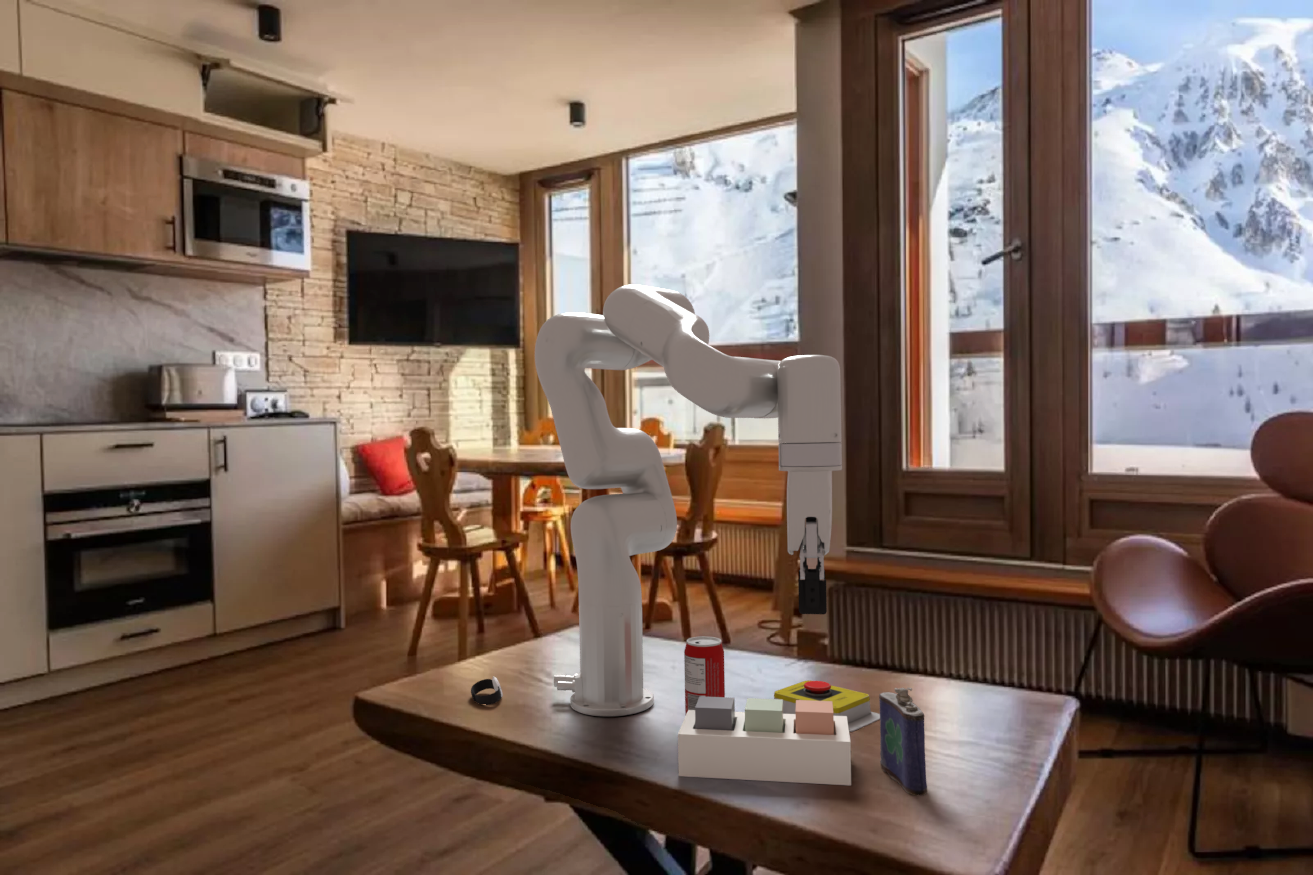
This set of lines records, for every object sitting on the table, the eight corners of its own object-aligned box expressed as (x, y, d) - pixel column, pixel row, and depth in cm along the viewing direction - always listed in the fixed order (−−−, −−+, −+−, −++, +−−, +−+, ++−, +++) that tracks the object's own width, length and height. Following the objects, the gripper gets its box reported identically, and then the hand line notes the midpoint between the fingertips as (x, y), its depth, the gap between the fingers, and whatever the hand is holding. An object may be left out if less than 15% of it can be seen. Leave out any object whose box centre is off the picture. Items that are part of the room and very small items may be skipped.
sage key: (745, 742, 101) (744, 709, 101) (747, 730, 106) (747, 698, 106) (782, 744, 101) (781, 710, 101) (783, 731, 105) (782, 699, 105)
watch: (508, 705, 129) (508, 681, 129) (477, 710, 127) (477, 686, 127) (495, 692, 136) (494, 669, 136) (466, 696, 134) (465, 673, 134)
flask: (876, 765, 103) (875, 677, 103) (899, 763, 103) (898, 675, 103) (909, 797, 94) (908, 700, 94) (934, 795, 94) (933, 699, 94)
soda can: (727, 718, 121) (726, 634, 121) (722, 732, 115) (721, 644, 115) (689, 716, 122) (687, 633, 122) (682, 729, 117) (680, 642, 117)
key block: (678, 776, 101) (677, 734, 101) (688, 748, 109) (688, 709, 109) (851, 785, 97) (850, 741, 97) (847, 756, 106) (846, 716, 106)
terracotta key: (796, 745, 100) (795, 711, 100) (796, 732, 105) (795, 700, 105) (833, 746, 100) (833, 712, 100) (832, 733, 104) (832, 701, 104)
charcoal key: (695, 740, 103) (695, 707, 103) (700, 728, 107) (699, 696, 107) (731, 742, 102) (731, 708, 102) (735, 729, 106) (734, 697, 106)
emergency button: (800, 669, 132) (886, 689, 121) (800, 697, 132) (886, 720, 121) (762, 682, 125) (849, 704, 114) (762, 711, 125) (849, 736, 114)
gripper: (780, 457, 111) (783, 594, 111) (776, 460, 94) (778, 623, 94) (839, 456, 110) (841, 595, 110) (845, 460, 93) (847, 624, 93)
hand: (812, 606), depth 102 cm, fingers open, 5 cm apart
